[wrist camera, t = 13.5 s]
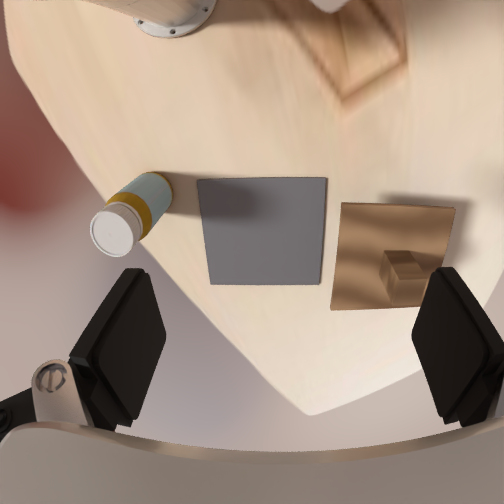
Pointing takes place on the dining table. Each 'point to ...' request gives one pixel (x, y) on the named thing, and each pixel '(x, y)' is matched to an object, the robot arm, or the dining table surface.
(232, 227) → the mat
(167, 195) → the bottle
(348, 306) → the cover
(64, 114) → the dining table surface
